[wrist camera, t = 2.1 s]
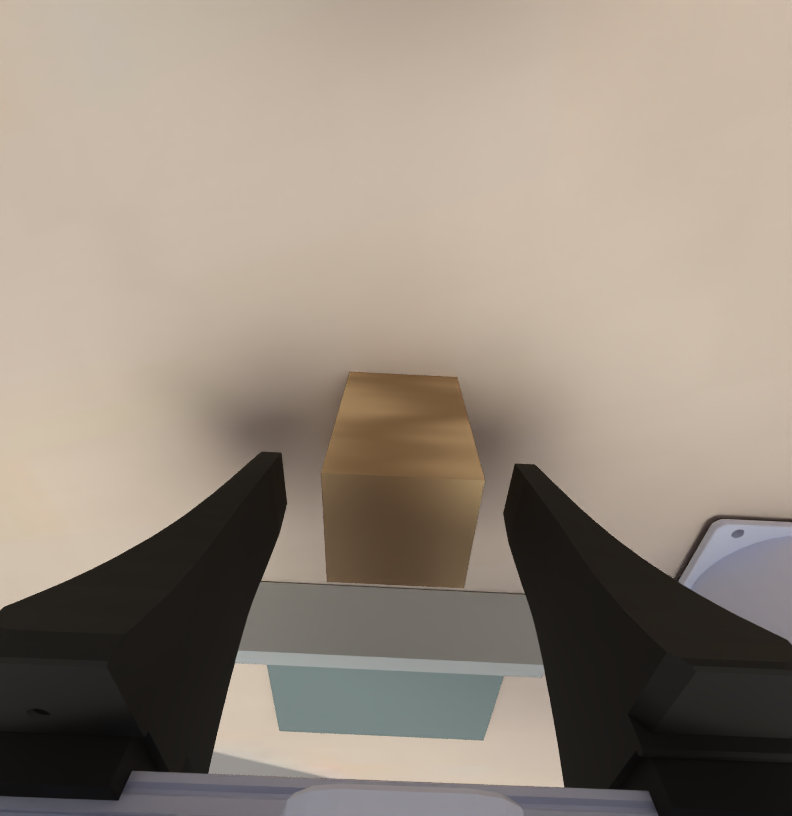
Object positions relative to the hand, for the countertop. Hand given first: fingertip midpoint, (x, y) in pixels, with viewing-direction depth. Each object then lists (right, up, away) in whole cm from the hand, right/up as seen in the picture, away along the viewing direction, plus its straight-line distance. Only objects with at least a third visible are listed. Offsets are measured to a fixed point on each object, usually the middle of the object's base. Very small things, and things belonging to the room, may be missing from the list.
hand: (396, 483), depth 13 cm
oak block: (0, +2, +3) cm, 4 cm away
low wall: (0, -7, +9) cm, 11 cm away
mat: (-1, -16, +13) cm, 20 cm away
